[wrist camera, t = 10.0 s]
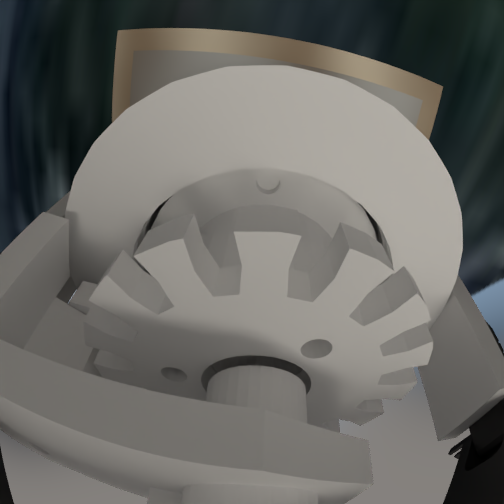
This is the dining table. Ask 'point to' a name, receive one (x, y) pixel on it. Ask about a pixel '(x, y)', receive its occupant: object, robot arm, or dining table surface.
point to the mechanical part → (230, 291)
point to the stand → (257, 53)
